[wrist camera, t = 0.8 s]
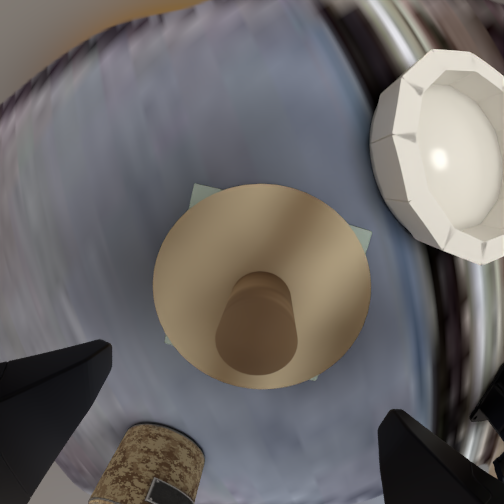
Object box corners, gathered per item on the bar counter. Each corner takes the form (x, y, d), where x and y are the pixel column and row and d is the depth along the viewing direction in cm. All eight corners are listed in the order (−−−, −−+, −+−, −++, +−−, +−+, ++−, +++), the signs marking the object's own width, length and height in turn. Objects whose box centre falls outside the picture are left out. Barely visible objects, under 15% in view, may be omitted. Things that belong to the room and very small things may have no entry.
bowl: (509, 119, 13) (544, 113, 9) (483, 265, 15) (519, 281, 11) (383, 45, 13) (406, 16, 9) (346, 216, 15) (369, 225, 12)
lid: (392, 219, 15) (443, 236, 10) (324, 394, 18) (336, 453, 12) (182, 161, 15) (138, 150, 10) (149, 350, 18) (113, 400, 12)
